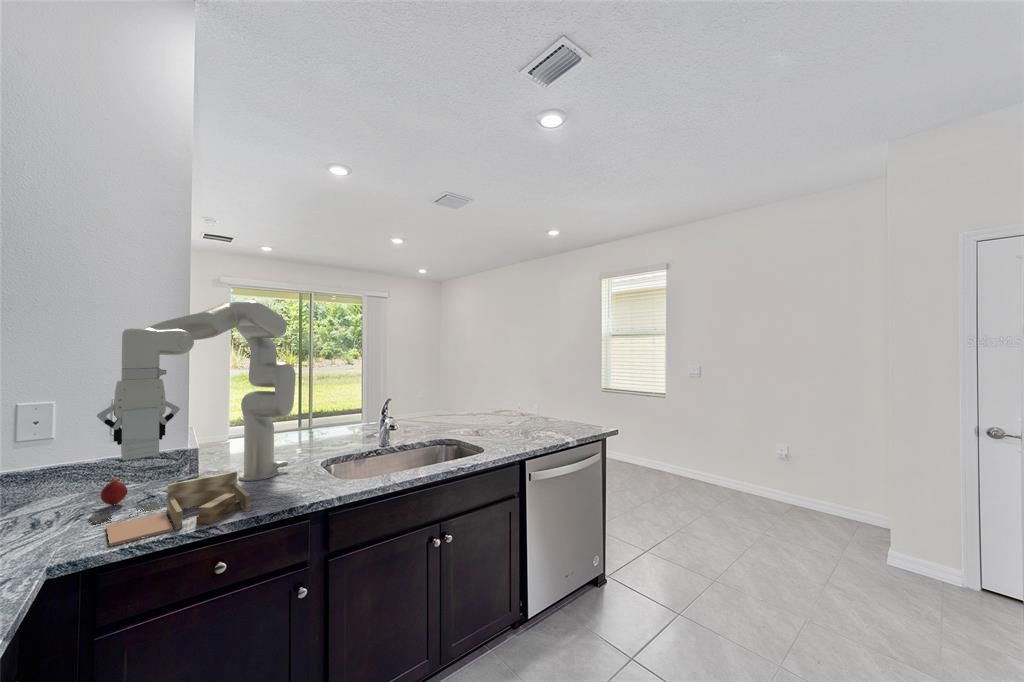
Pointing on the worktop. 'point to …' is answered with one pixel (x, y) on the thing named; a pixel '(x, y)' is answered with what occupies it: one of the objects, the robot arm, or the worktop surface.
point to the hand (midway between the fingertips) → (140, 440)
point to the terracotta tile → (138, 528)
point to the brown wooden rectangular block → (217, 509)
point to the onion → (114, 492)
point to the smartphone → (105, 517)
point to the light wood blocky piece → (203, 494)
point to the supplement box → (140, 433)
